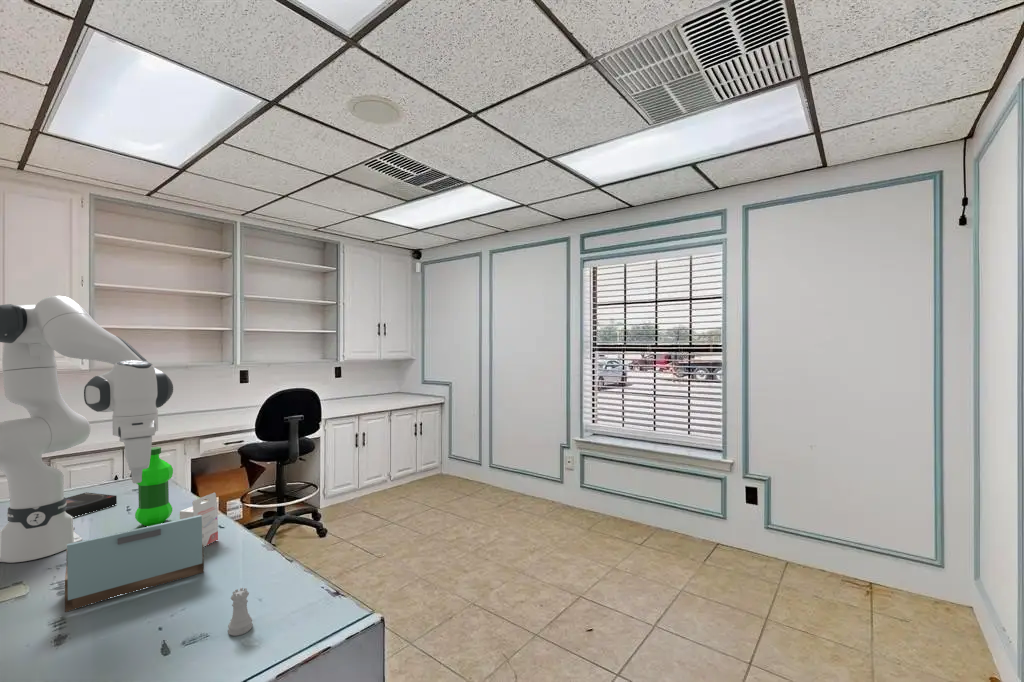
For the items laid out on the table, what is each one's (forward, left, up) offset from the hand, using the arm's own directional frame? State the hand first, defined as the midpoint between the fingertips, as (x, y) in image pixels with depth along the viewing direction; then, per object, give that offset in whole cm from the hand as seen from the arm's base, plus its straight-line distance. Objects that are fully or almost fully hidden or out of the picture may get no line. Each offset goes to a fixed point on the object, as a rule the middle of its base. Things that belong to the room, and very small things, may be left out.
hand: (136, 481), depth 117 cm
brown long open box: (-1, 0, -25) cm, 25 cm away
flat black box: (-84, -13, -26) cm, 89 cm away
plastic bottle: (-47, +7, -25) cm, 54 cm away
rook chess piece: (+40, +14, -25) cm, 49 cm away
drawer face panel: (+6, 0, -22) cm, 23 cm away
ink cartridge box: (-15, +15, -25) cm, 33 cm away
